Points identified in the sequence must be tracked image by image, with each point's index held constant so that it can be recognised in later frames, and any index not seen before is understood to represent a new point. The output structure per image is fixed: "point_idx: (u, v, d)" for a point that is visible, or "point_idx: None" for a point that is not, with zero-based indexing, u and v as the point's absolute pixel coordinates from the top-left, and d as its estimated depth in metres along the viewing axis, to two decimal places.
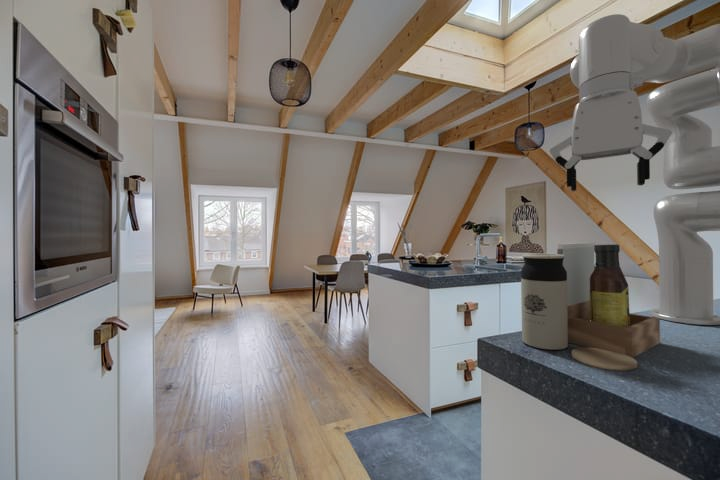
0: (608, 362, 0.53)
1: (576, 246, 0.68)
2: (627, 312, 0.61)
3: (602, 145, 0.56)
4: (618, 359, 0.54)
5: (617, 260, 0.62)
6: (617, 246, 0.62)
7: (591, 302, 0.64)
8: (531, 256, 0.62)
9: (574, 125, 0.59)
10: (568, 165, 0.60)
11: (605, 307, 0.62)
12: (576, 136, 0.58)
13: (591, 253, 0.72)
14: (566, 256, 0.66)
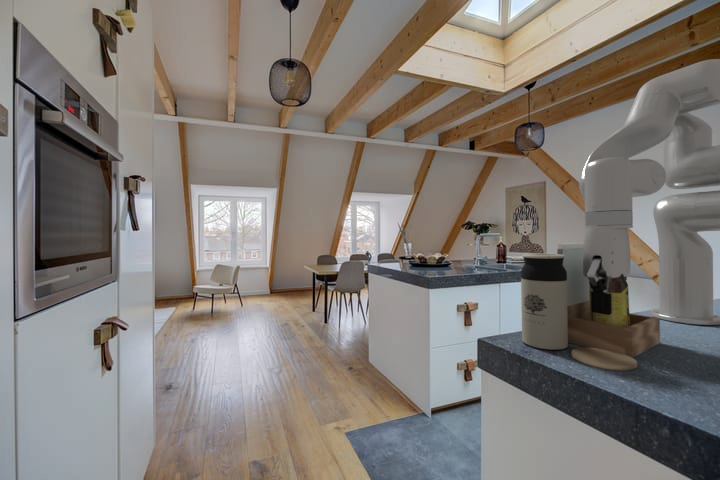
0: (608, 362, 0.53)
1: (576, 246, 0.68)
2: (627, 312, 0.61)
3: (619, 271, 0.62)
4: (618, 359, 0.54)
5: None
6: None
7: None
8: (531, 256, 0.62)
9: (610, 249, 0.60)
10: (607, 290, 0.60)
11: None
12: (612, 260, 0.60)
13: None
14: (566, 256, 0.66)
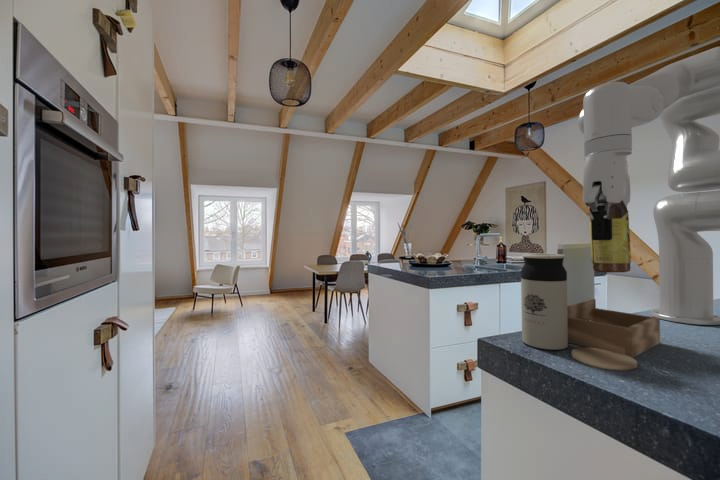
0: (608, 362, 0.53)
1: (576, 246, 0.68)
2: (627, 237, 0.61)
3: (619, 198, 0.62)
4: (618, 359, 0.54)
5: None
6: None
7: (591, 232, 0.65)
8: (531, 256, 0.62)
9: (610, 173, 0.60)
10: (607, 215, 0.60)
11: None
12: (612, 184, 0.60)
13: None
14: (566, 256, 0.66)
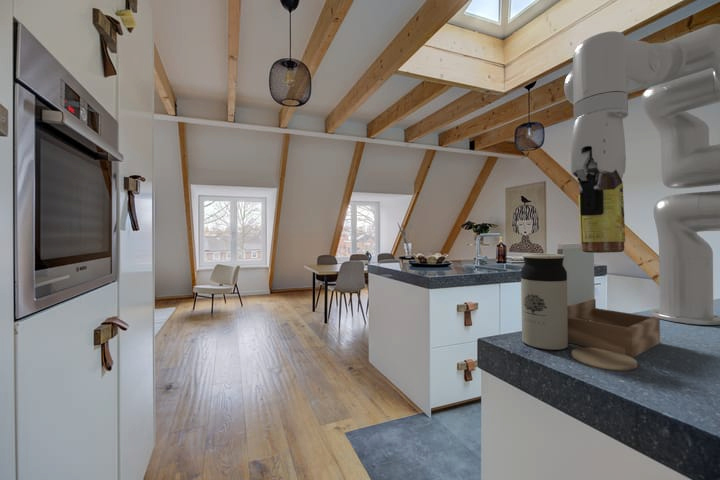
0: (608, 362, 0.53)
1: (576, 246, 0.68)
2: (621, 212, 0.52)
3: (613, 167, 0.53)
4: (618, 359, 0.54)
5: None
6: None
7: None
8: (531, 256, 0.62)
9: (601, 136, 0.51)
10: (598, 186, 0.52)
11: None
12: (604, 149, 0.51)
13: (591, 253, 0.72)
14: (566, 256, 0.66)
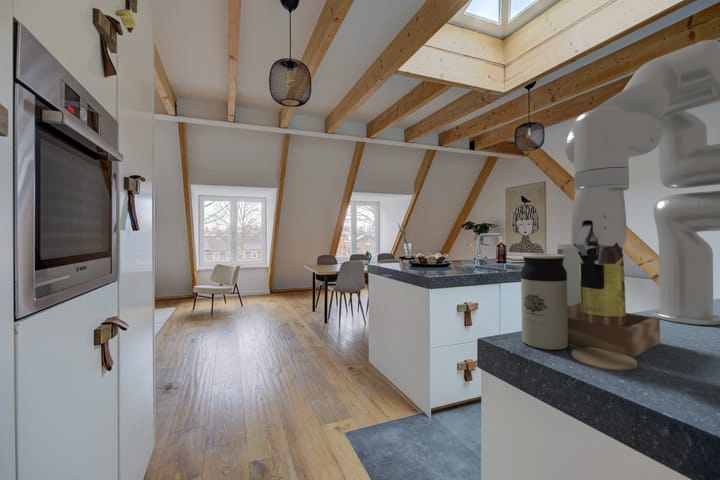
0: (608, 362, 0.53)
1: None
2: (622, 286, 0.52)
3: None
4: (618, 359, 0.54)
5: None
6: None
7: None
8: (531, 256, 0.62)
9: (602, 212, 0.51)
10: (599, 261, 0.52)
11: None
12: (604, 225, 0.51)
13: None
14: (566, 256, 0.66)
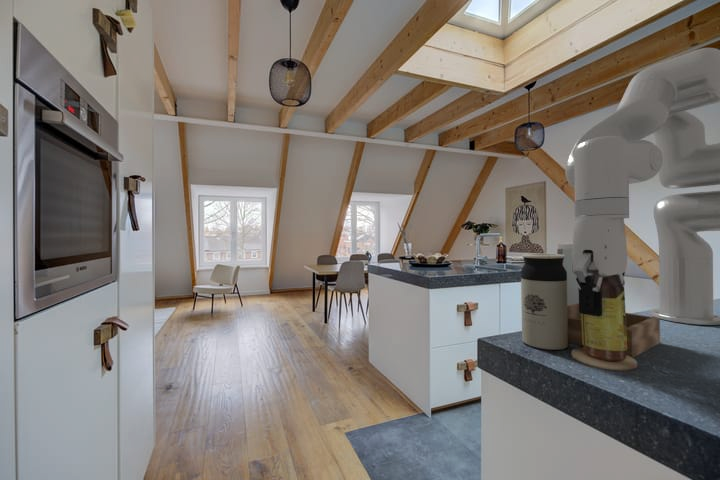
0: (608, 362, 0.53)
1: None
2: (623, 320, 0.53)
3: (614, 269, 0.53)
4: None
5: None
6: None
7: None
8: (531, 256, 0.62)
9: (603, 242, 0.51)
10: (597, 288, 0.52)
11: None
12: (605, 255, 0.51)
13: None
14: (566, 256, 0.66)
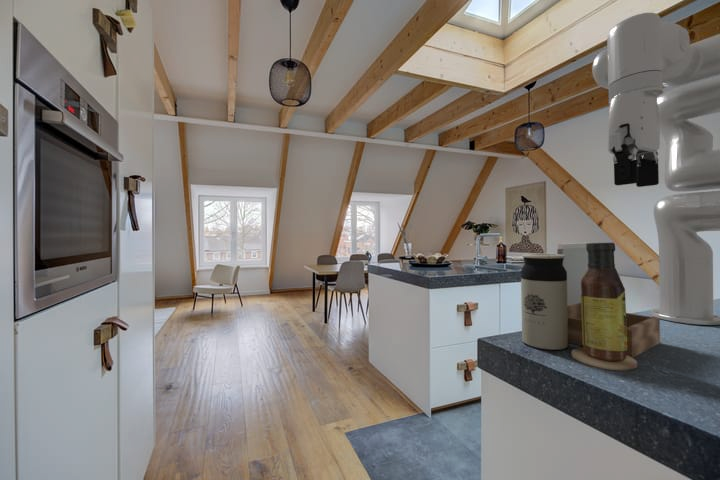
0: (608, 362, 0.53)
1: (576, 246, 0.68)
2: (624, 321, 0.53)
3: (649, 142, 0.56)
4: None
5: (612, 261, 0.54)
6: (612, 244, 0.54)
7: (583, 309, 0.56)
8: (531, 256, 0.62)
9: (639, 113, 0.54)
10: (633, 156, 0.54)
11: (598, 314, 0.54)
12: (641, 126, 0.54)
13: None
14: (566, 256, 0.66)
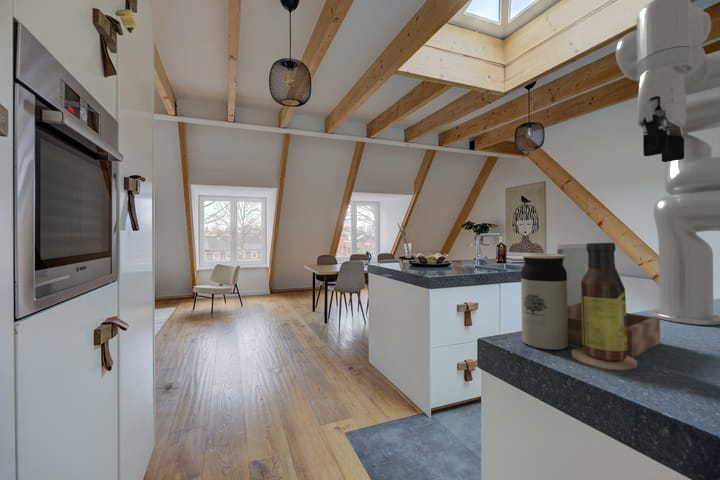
0: (608, 362, 0.53)
1: (576, 246, 0.68)
2: (624, 321, 0.53)
3: (677, 116, 0.59)
4: None
5: (612, 261, 0.54)
6: (612, 244, 0.54)
7: (583, 309, 0.56)
8: (531, 256, 0.62)
9: (669, 86, 0.57)
10: (663, 126, 0.57)
11: (598, 314, 0.54)
12: (671, 98, 0.57)
13: None
14: (566, 256, 0.66)
